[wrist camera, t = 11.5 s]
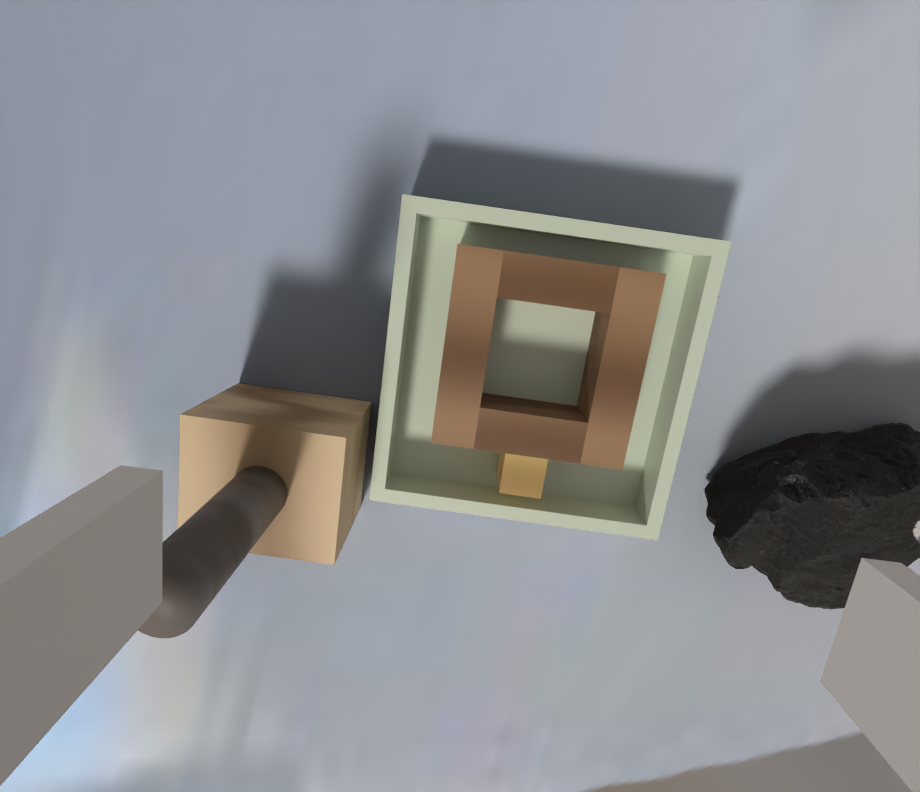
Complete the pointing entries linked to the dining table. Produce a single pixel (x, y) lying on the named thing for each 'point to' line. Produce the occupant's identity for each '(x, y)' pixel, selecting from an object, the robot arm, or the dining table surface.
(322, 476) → the block with upright handle
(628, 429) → the ring
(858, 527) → the mineral
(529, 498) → the tray
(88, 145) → the dining table surface
